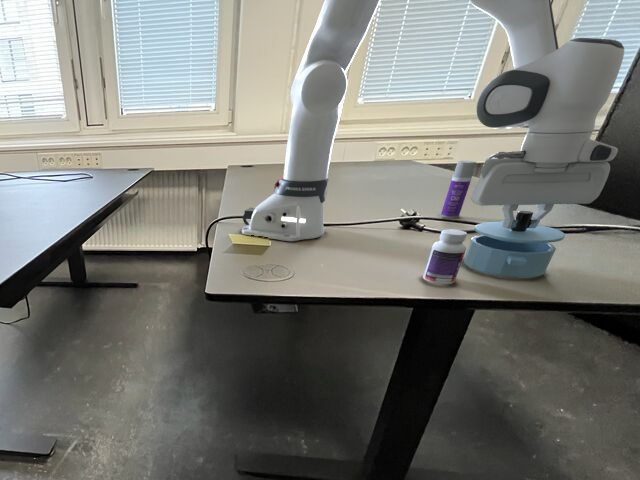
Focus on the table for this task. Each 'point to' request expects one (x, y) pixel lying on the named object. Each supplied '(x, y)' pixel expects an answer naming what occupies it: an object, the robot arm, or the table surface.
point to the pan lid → (520, 231)
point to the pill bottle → (446, 257)
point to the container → (458, 189)
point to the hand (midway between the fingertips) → (519, 227)
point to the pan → (508, 257)
